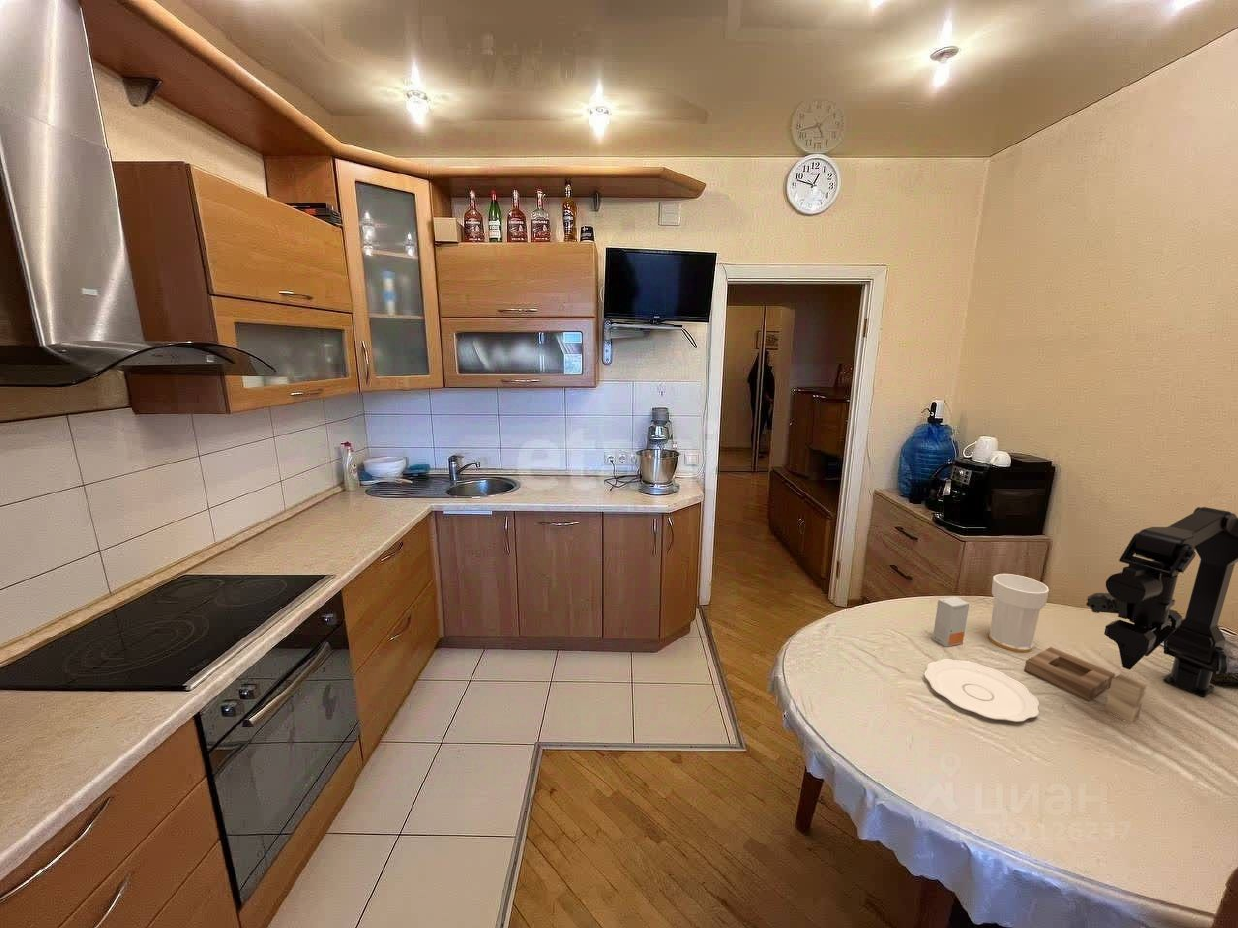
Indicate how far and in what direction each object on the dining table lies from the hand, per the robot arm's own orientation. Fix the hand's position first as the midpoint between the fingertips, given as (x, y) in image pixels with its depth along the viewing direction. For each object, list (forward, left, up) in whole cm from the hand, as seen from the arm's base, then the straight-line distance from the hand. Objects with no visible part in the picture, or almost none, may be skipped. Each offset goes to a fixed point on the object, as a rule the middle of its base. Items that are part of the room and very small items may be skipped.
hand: (1135, 661), depth 99 cm
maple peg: (0, 0, -13) cm, 13 cm away
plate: (+19, -18, -13) cm, 29 cm away
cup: (-10, -25, -13) cm, 30 cm away
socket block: (-5, -11, -13) cm, 18 cm away
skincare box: (+4, -33, -13) cm, 36 cm away
